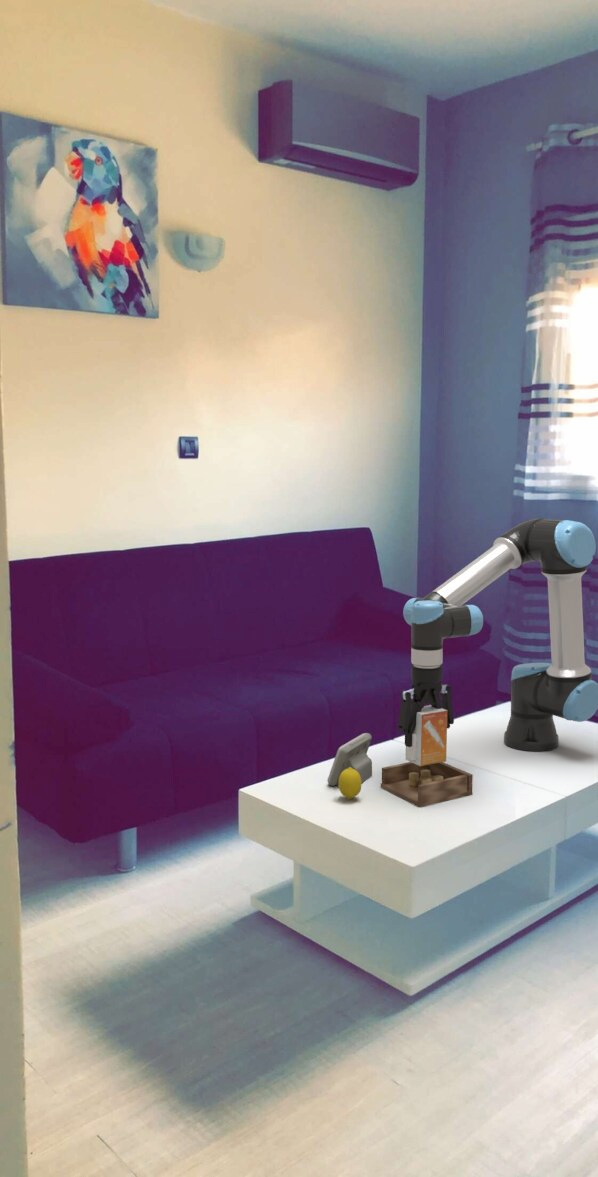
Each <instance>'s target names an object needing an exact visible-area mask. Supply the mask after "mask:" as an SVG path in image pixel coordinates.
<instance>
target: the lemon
mask: <svg viewBox="0 0 598 1177" xmlns="http://www.w3.org/2000/svg"><path fill="white" fill-rule="evenodd" d="M362 783H363V782H362ZM362 783H361V777H360V774H359V773H358V772H357V771H356V770H354V769H352V768H351V767H349V768H348V769H345V770H344V771H343V772H342V773H341V774H340V777H339V784H338V789H339V791H340V794H342V796H343V797H345V798H347V799H348V800H349V799H351V800H352V799H353V798H355V797H357V796H358V795H359V794H360V792H361V790H362Z"/></svg>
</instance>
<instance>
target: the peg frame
mask: <svg viewBox="0 0 598 1177" xmlns="http://www.w3.org/2000/svg"><path fill="white" fill-rule="evenodd" d="M473 777H474V775H473V774H471V773H469V772H467V771H465V770H463V769H460V768H457V767H455V766H453V765H451V764H448V763H446V762H439V763H434V764H429V765H424V766H419V765H416V764H414V763H412V762H410V761H408V762H403V763H399V764H394V765H389V766H384V767H381V783H380V784H379V785H380V788H381V789H382V790H385V791H386V792H388V793H391V794H392V795H395V796H396V797H398V798H400V799H402V800H405V801H407V802H408V803H411V805H414V806H416V807H418V808H423V807H427V806H432V805H434V804H435V805H436V804H439V803H443V802H444V803H445V802H447V801H451V800H456V799H461V798H464V797H469V796H472V795H473V783H474V782H473V779H474V778H473Z"/></svg>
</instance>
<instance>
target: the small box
mask: <svg viewBox="0 0 598 1177" xmlns="http://www.w3.org/2000/svg"><path fill="white" fill-rule="evenodd" d="M413 733H415V734H416V760H414V761H413V760H411V759H409V758H407V746H405V760H406V761H408V762H412V763H414V764H416V765H419V766H424V765H429V764H434V763H439V762H444V763H446V761H447V746H448V745H447V744H448V743H447V740H448V739H447V738H448V736H447V735H448V729H447V710H445V709H443V708H441V709H437V708H434V707H432V706H431V704H429V705H424V707H423V708H422V709H421V712H417V716H416V727H415V729H414V732H413Z"/></svg>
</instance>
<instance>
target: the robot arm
mask: <svg viewBox="0 0 598 1177" xmlns="http://www.w3.org/2000/svg"><path fill="white" fill-rule="evenodd" d="M596 549H597V545H596V539H595V536H594V534H593V531H592V530H591V529H590V528H589V527H588V526H587V525H586V524H584V523H582V522H581V521H574V520H571V519H550V518H547V519H546V518H533V519H530V520H526V521H524V522H521V523H519V524H517V525H516V526H513V527H512V528H510V529H508V530H507V531H506V532H504V533H502V534H501V535H499V536H498V537H497V538H496V539H495V540H494V541H493V544H492V547H490V548H489V549H487V550H486V551H485V552H483V553H482V554H481V555H479V556H478V557H476V559H474V560H473V561H471V562H470V563H469V564H467V565H466V566H464V567H463V568H462V569H461V570H459V571H458V572H457V573H456V574H454V575H452V576H451V577H450V578H448V579H447V580H445V582H443V583H442V584H440V585H439V586H437V587H436V588H435V589H434V590H432V591H431V592H430V593H429V594H426V595H425V596H424V597H413V598H410V599H409V600H407V602H406V603H405V604H404V607H403V610H402V611H403V612H402V613H403V619H404V620H405V622H406V623H407V624H408V625H409V626H410V627H411V630H410V631H411V632H410V633H411V634H410V635H411V636H410V637H411V641H410V642H411V643H410V645H411V646H410V647H411V649H410V652H411V654H410V655H411V656H410V659H411V660H410V661H411V662H410V663H411V664H412V665H411V666H410V680H411V683H412V684H411V687H410V689H408V690H401V691H400V696H401V701H400V712H399V715H398V716H399V717H398V724H397V731H399V732H402V733H404V746H405V747H406V746H407V758H409V759H411V760H413V761H414V760H416V734H415V733H413V732H414V729H415V727H416V716H417V712H421V709H422V708H423V707H424V706H426V705H427V704H428V703H430V704H429V705H431V706H432V707H434V708H437V709H441V708H443V709H445V710H447V730H448V729H450V728H451V725H453V724H454V723H455V719H454V712H453V703H452V698H451V697H452V696H451V695H452V686H451V685H448V684H445V683H442V680H443V666H442V664H443V663H444V662H443V660H444V658H443V655H444V654H443V651H444V650H443V648H444V647H443V646H444V640H445V639H452V638H460V637H470V636H473V635H476V634H478V633H480V632H481V630H482V629H483V626H484V616H483V612H482V611H481V609H480V608H479V607H478V606H477V605H476V604H465V603H467V602H468V601H469V600H471V599H472V598H474V597H475V596H476V595H477V594H479V593H480V592H482V590H484V589H486V587H488V586H489V585H491V584H492V583H493V582H495V581H496V580H498V578H500V577H501V576H502V575H504V574H505V573H506V572H508V571H509V570H510V569H513V570H514V569H515V570H516V569H518V568H519V567H520V566H522V565H524V564H526V563H530V562H536V563H540V570H541V571H540V572H541V574H542V575H543V576H544V577H545V578H546V579H547V593H548V594H547V595H548V614H549V616H548V617H549V632H550V633H549V636H550V653H551V654H550V655H551V663H550V662H549V663H548V662H530V663H529V662H528V663H521V664H517V665H515V666H514V667H513V668H512V670H511V677H510V718H509V721H508V723H507V728H506V730H505V731H504V733H503V734H504V735H503V743H504V745H506V746H508V747H509V748H513V749H516V750H520V751H526V752H545V751H551V750H554V749H557V748H558V747H559V744H560V742H559V740H560V739H559V735H558V734H557V728H556V724H555V721H554V716H555V717H559V718H561V719H565V720H566V721H572V722H578V723H582V722H585V721H587V720H590V719H591V718H592V717H593V716H594V715H595V714H596V712H597V710H598V683H597V681H595V680H592V669H591V668H590V666H589V665H587V664H586V662H585V661H586V660H585V641H584V640H585V639H584V637H585V636H584V617H583V615H584V614H583V593H582V588H583V587H582V577H583V576H584V574H585V573H586V572H588V571H587V570H588V567H587V566H588V565H590V564H591V562H592V561H593V559H594V557H593V556H595V555H596Z"/></svg>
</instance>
